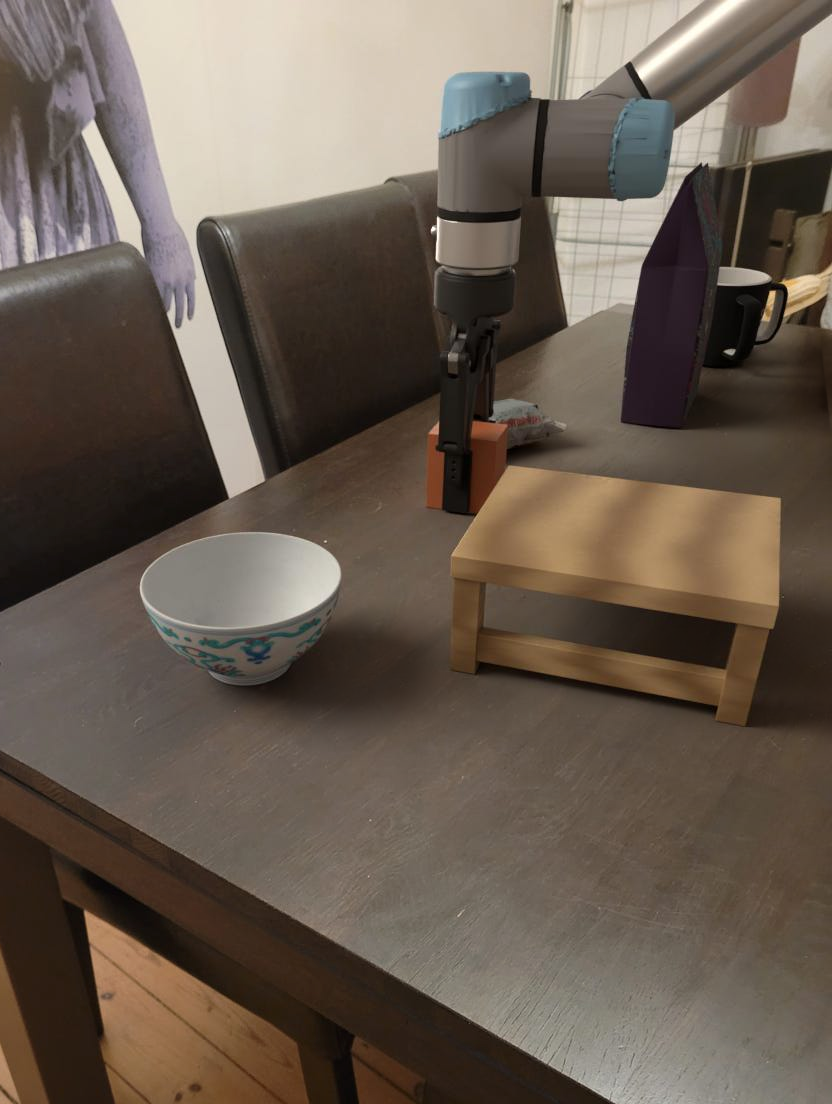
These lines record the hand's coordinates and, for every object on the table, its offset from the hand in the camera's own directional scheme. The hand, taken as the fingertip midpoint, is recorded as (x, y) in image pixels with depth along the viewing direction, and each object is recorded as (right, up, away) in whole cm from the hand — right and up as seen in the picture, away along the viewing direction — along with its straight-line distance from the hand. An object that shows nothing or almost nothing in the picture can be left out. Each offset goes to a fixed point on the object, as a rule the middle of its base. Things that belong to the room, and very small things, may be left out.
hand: (462, 499), depth 100 cm
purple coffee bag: (+28, +15, +24) cm, 40 cm away
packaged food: (+6, +8, +14) cm, 17 cm away
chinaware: (-20, -17, -25) cm, 36 cm away
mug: (+42, +27, +41) cm, 65 cm away
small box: (0, 0, 0) cm, 0 cm away
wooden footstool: (+9, -15, -23) cm, 29 cm away
